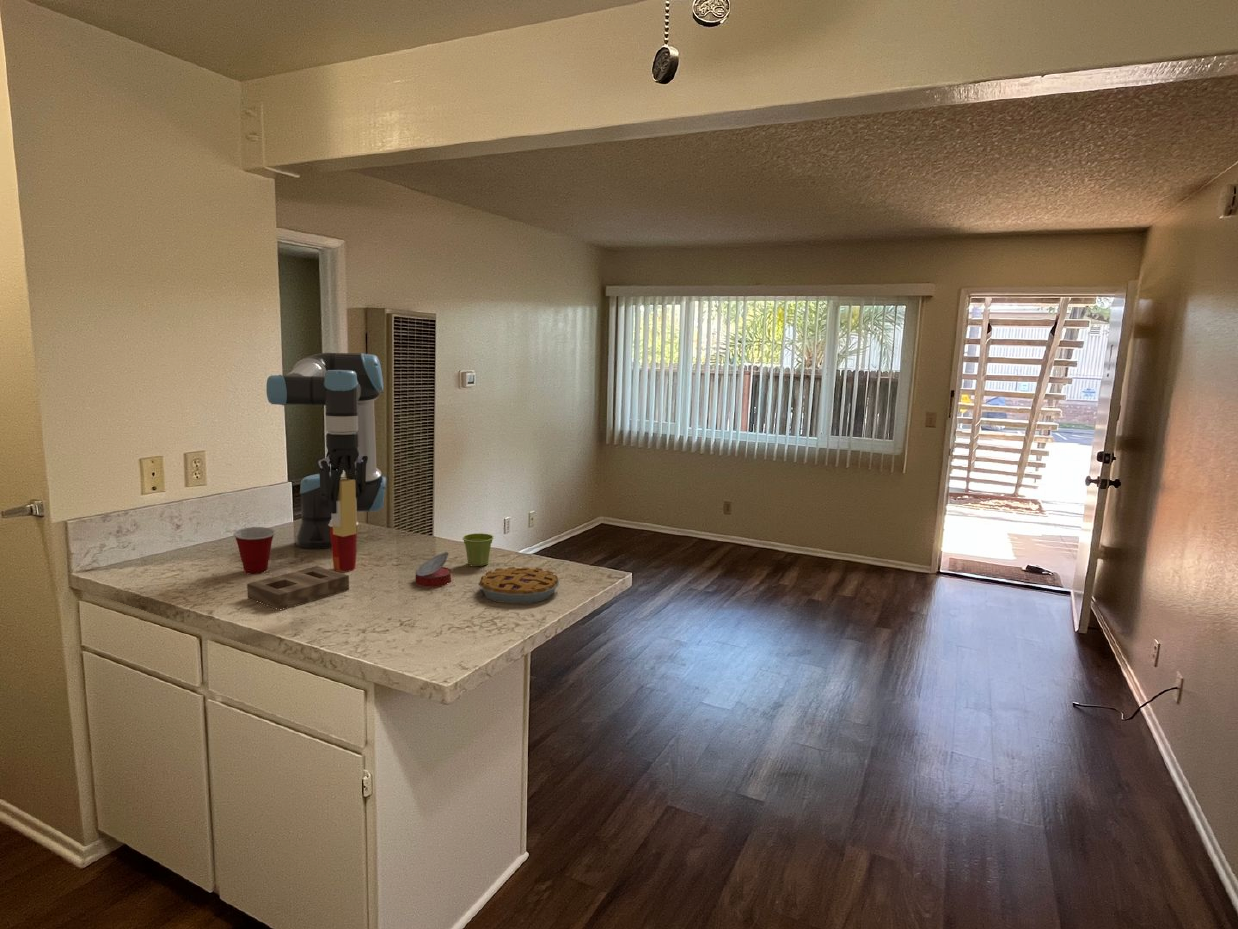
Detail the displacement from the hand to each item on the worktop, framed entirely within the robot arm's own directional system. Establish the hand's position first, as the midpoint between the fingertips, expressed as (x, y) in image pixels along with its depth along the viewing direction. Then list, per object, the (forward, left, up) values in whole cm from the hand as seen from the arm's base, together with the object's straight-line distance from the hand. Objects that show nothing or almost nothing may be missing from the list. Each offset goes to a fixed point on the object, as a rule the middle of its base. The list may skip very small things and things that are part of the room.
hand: (344, 523), depth 180 cm
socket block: (+4, -14, -21) cm, 25 cm away
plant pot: (-45, +3, -21) cm, 50 cm away
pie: (-33, +30, -21) cm, 49 cm away
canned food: (-25, +5, -21) cm, 33 cm away
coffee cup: (-17, -24, -21) cm, 36 cm away
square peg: (0, 0, -3) cm, 3 cm away
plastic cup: (0, -41, -21) cm, 46 cm away
